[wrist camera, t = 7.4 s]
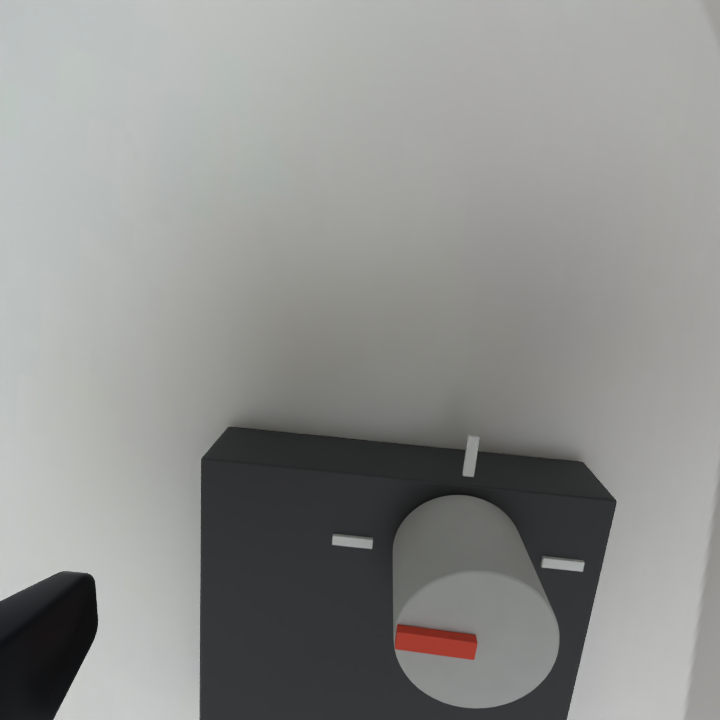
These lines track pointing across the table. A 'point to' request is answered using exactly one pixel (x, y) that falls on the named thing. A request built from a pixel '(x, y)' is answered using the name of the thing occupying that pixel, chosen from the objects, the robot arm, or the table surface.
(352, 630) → the console
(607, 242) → the table surface
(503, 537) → the timer knob
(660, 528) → the table surface
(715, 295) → the table surface
